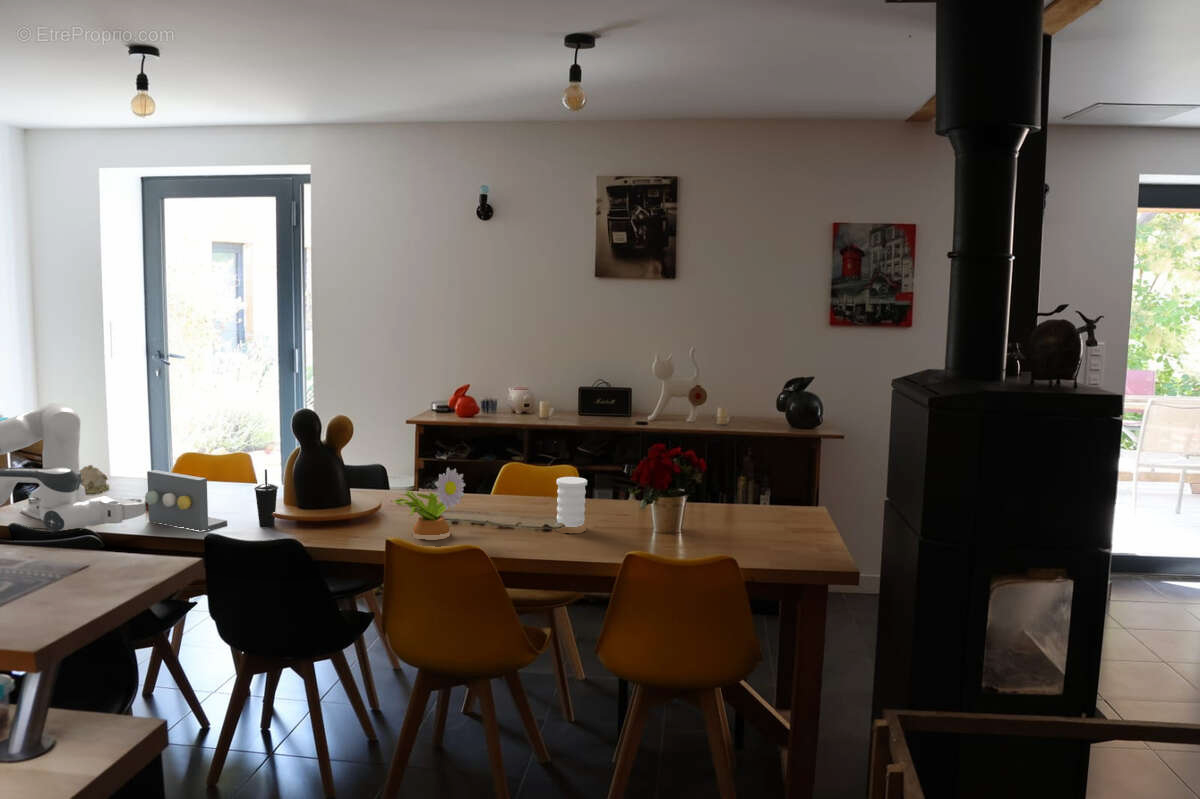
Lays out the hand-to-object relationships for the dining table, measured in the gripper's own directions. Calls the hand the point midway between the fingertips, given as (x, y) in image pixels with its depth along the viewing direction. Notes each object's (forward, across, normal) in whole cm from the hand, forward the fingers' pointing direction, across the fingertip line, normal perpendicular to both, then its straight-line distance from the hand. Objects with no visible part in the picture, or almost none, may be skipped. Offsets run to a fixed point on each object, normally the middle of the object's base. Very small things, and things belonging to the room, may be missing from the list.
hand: (138, 501), depth 294 cm
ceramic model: (+28, -64, -10) cm, 70 cm away
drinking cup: (+25, +32, -10) cm, 42 cm away
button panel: (+14, +7, -10) cm, 18 cm away
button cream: (+6, +7, -2) cm, 10 cm away
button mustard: (+6, +14, -2) cm, 16 cm away
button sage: (+5, 0, -2) cm, 6 cm away
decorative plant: (+46, +86, -10) cm, 98 cm away
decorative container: (+75, +125, -10) cm, 146 cm away
